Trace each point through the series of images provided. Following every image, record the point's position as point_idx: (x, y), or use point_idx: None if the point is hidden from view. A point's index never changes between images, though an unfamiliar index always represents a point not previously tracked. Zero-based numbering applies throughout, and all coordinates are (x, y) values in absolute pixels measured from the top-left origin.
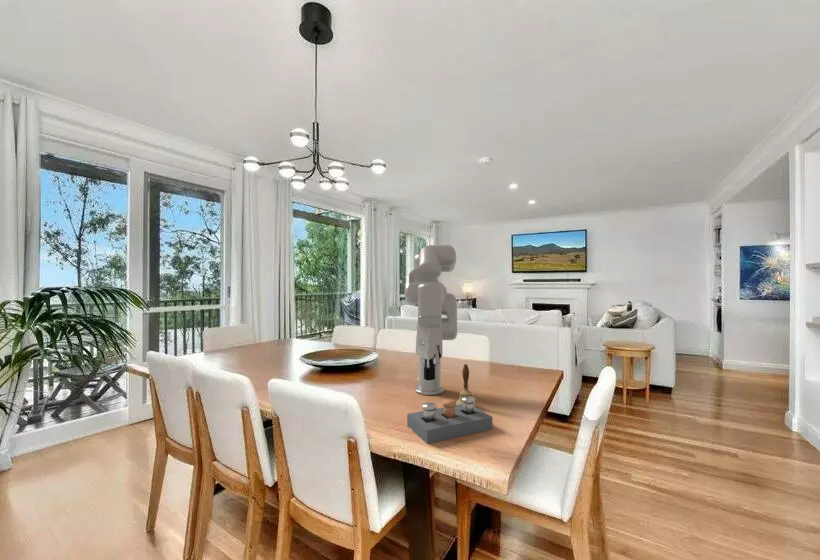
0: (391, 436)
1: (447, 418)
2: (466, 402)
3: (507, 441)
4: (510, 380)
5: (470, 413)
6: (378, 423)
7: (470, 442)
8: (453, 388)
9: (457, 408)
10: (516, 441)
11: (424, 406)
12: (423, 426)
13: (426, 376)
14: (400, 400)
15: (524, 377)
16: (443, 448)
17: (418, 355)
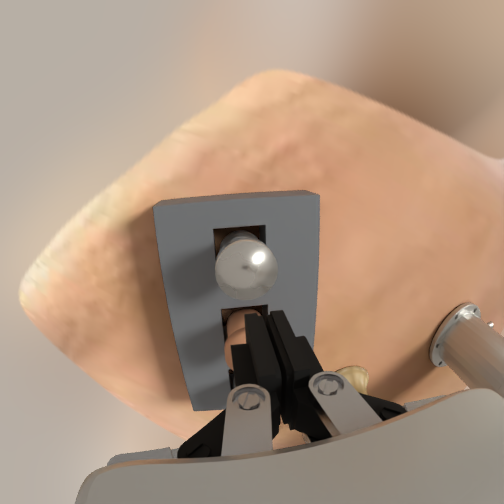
0: (250, 113)
1: (233, 313)
2: None
3: (129, 383)
4: None
5: (233, 381)
6: (355, 115)
7: (137, 315)
8: (430, 383)
9: None
10: (127, 395)
11: (234, 243)
12: (186, 206)
13: (247, 329)
14: (454, 246)
15: None
16: (122, 234)
17: (429, 404)
